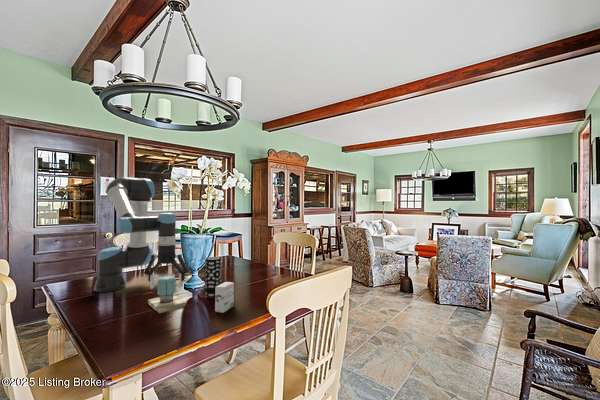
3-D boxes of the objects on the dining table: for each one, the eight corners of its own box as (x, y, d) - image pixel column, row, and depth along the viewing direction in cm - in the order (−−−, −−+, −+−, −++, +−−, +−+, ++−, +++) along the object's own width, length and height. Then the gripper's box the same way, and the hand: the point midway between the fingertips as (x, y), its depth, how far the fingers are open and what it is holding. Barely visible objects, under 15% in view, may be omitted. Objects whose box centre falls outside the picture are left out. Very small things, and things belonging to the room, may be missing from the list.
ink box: (226, 305, 136) (226, 280, 136) (234, 306, 134) (234, 282, 134) (214, 311, 128) (214, 285, 128) (223, 313, 126) (223, 287, 126)
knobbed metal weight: (157, 300, 135) (157, 287, 135) (170, 297, 139) (170, 285, 139) (162, 304, 131) (162, 290, 131) (175, 301, 135) (175, 287, 135)
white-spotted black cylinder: (202, 295, 149) (202, 258, 149) (216, 291, 155) (216, 256, 155) (210, 299, 143) (210, 260, 143) (224, 295, 149) (224, 258, 149)
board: (147, 303, 136) (147, 299, 136) (172, 297, 145) (173, 294, 145) (159, 313, 125) (159, 308, 125) (185, 306, 133) (185, 302, 133)
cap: (161, 296, 130) (161, 281, 130) (155, 292, 135) (155, 278, 135) (177, 292, 135) (177, 278, 135) (171, 289, 140) (171, 275, 140)
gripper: (136, 245, 130) (136, 290, 130) (190, 245, 132) (190, 289, 132) (144, 243, 138) (143, 285, 138) (195, 243, 140) (195, 284, 140)
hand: (166, 287), depth 135 cm, fingers open, 13 cm apart
